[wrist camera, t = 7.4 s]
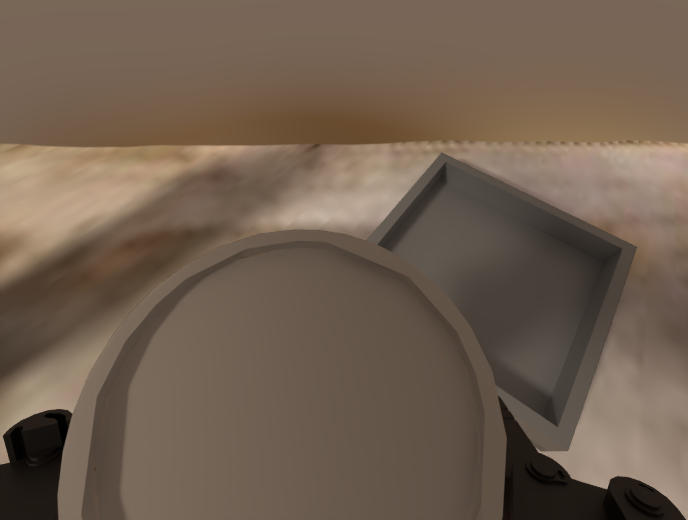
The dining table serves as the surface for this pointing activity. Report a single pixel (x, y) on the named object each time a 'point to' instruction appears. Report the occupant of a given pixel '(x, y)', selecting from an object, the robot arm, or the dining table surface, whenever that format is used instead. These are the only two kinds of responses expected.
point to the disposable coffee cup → (289, 395)
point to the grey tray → (516, 286)
